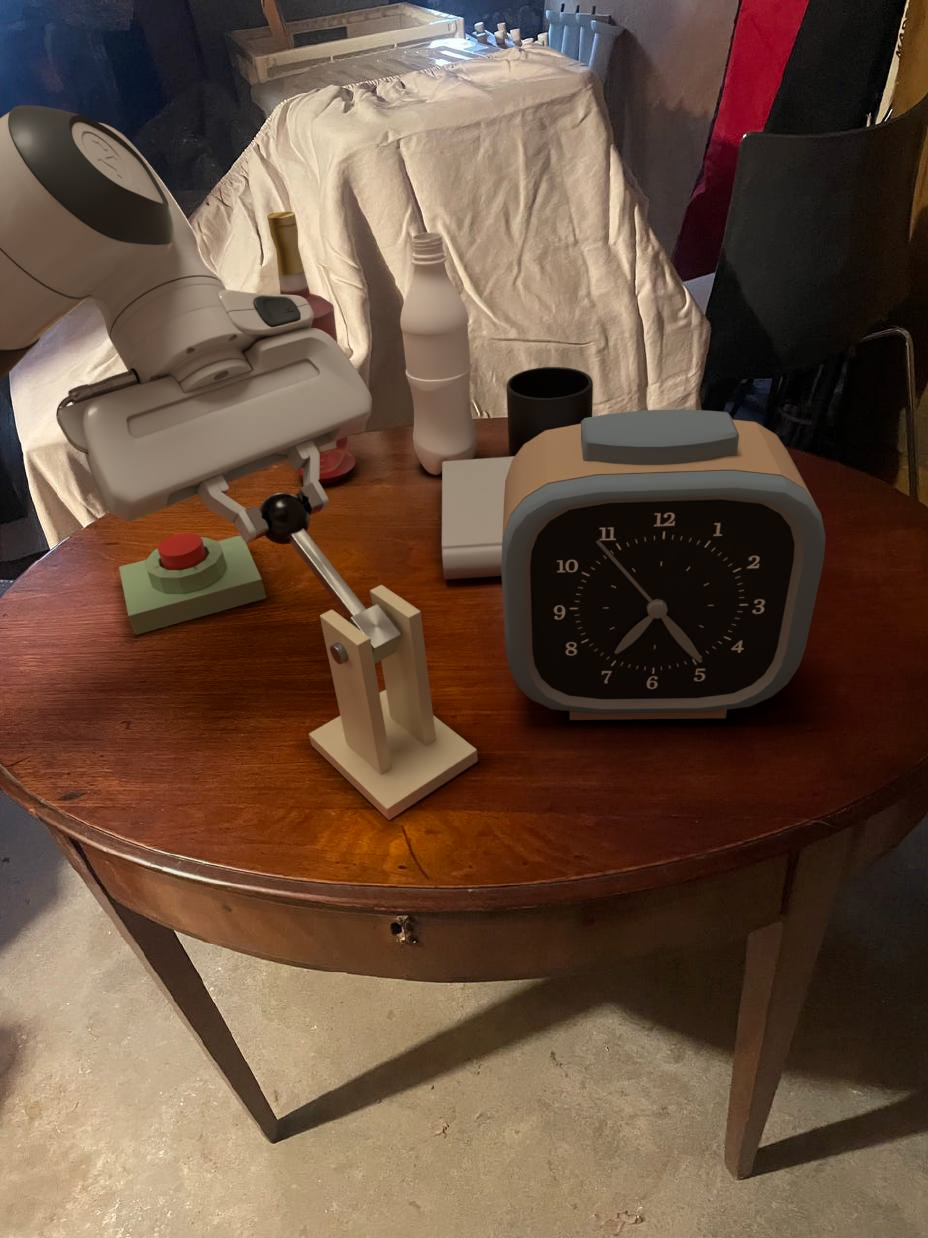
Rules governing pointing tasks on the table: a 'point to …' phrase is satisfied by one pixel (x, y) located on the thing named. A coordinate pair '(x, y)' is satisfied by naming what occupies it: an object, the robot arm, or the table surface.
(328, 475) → the liquor
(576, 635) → the alarm clock
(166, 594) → the button box
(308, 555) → the lever
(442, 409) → the water bottle
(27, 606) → the table surface
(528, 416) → the mug
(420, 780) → the bracket
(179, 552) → the button
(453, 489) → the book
